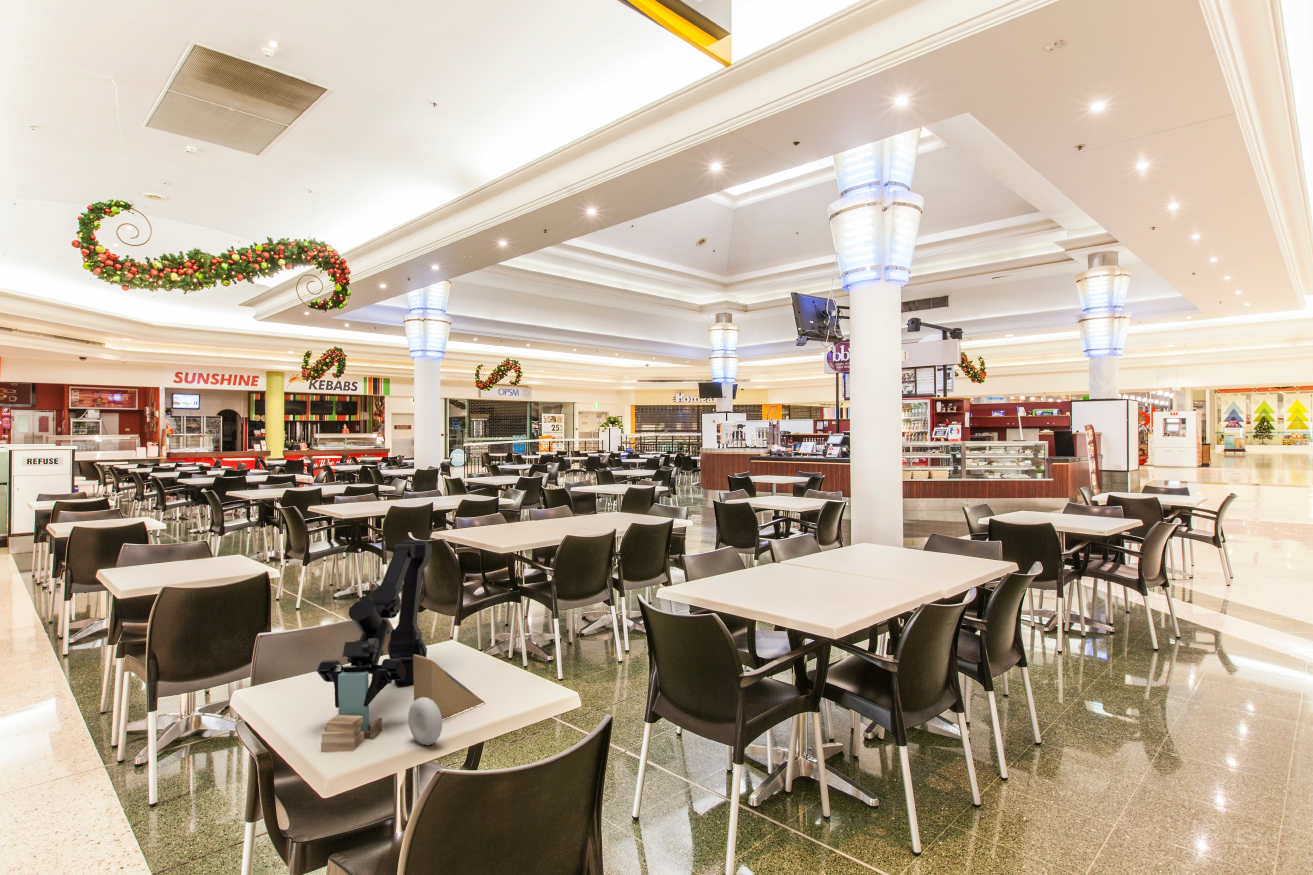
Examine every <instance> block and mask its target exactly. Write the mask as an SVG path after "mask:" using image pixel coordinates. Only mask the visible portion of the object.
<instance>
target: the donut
mask: <svg viewBox="0 0 1313 875" xmlns="http://www.w3.org/2000/svg"><path fill="white" fill-rule="evenodd" d="M407 716H408V717H407V718H408V726H409V730H410V732H411V734H412V737H413V738H414V739H415V741H417V742H418V743H420V744H421V745H424V744H425V746H426V745H427V744H430V745H431V744H435V742H437V740H438V739H439V738H440V736H441V734H442V730H443V720H442V716H441V713H440V710H439V708H438V706H437V705H436V704H435V702H434V701H433V700H431V699H429V698H426V697H421V698H419V699H417V700H415V701H414V700H413V702H412V704H410V706H409V710H408V715H407ZM427 746H428V745H427Z"/></svg>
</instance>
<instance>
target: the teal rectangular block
mask: <svg viewBox="0 0 1313 875" xmlns="http://www.w3.org/2000/svg"><path fill="white" fill-rule="evenodd" d="M369 676H370V674H368V672H342V673H341V674H339V675H338V700H339V707H338V715H350V716H363V724H362V725H361V731H369V725H370V704H369V705H368V706H367V707H365V706H364V701H365V697H366V695H367V692H368V689H369V686H370V684H369V683H370V682H369V680H370V679H369Z"/></svg>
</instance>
